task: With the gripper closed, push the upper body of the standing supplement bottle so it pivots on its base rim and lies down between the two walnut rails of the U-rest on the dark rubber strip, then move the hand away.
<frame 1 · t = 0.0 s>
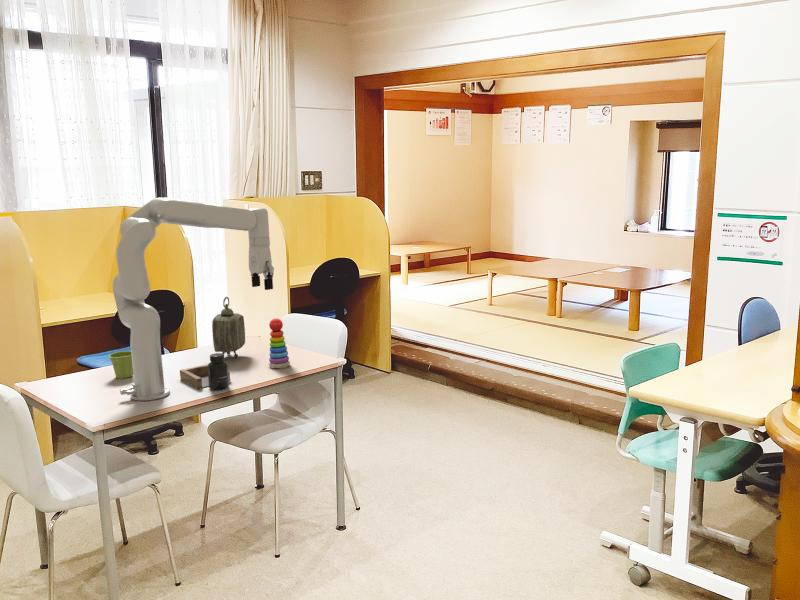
hand: (262, 287, 267), 31 cm above the table, tool pointing down, fingers open, 9 cm apart
supplement bottle: (219, 388, 251), on the table
u rest: (206, 381, 260), on the table
plant pot: (124, 376, 269), on the table
stacking toy: (279, 366, 276), on the table
tabletop clock: (231, 358, 290), on the table
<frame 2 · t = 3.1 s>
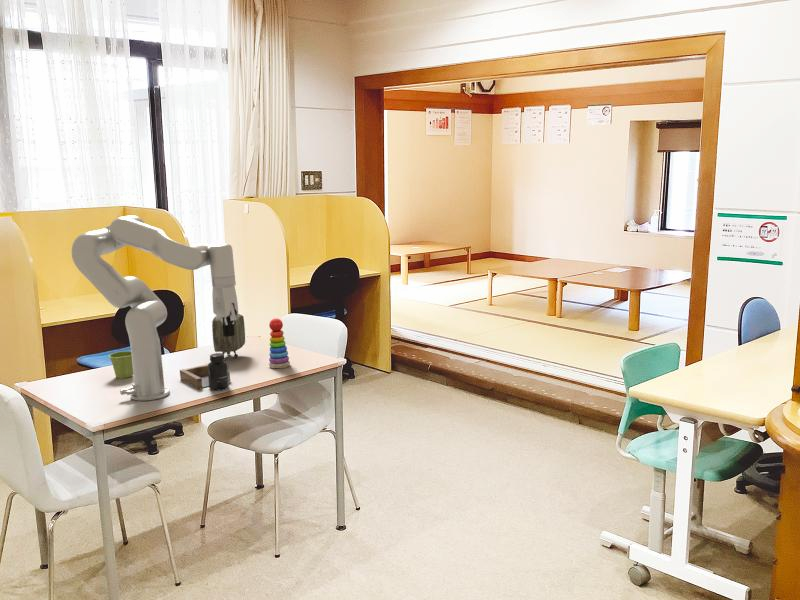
hand: (228, 335, 240), 20 cm above the table, tool pointing down, fingers closed
nothing on the table moved.
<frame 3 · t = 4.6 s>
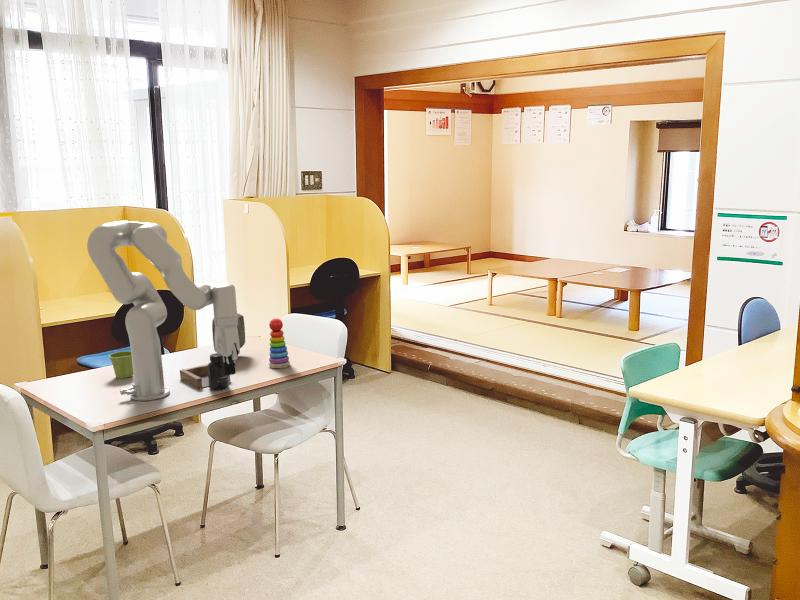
hand: (230, 374, 242), 7 cm above the table, tool pointing down, fingers closed
nothing on the table moved.
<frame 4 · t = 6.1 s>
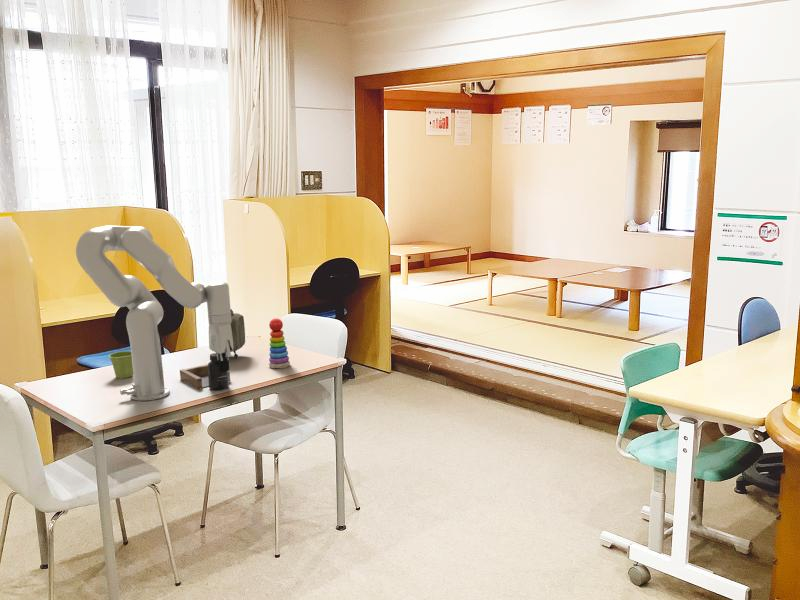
hand: (224, 371, 246), 7 cm above the table, tool pointing down, fingers closed
supplement bottle: (219, 388, 251), on the table, touching gripper
everything else where it was.
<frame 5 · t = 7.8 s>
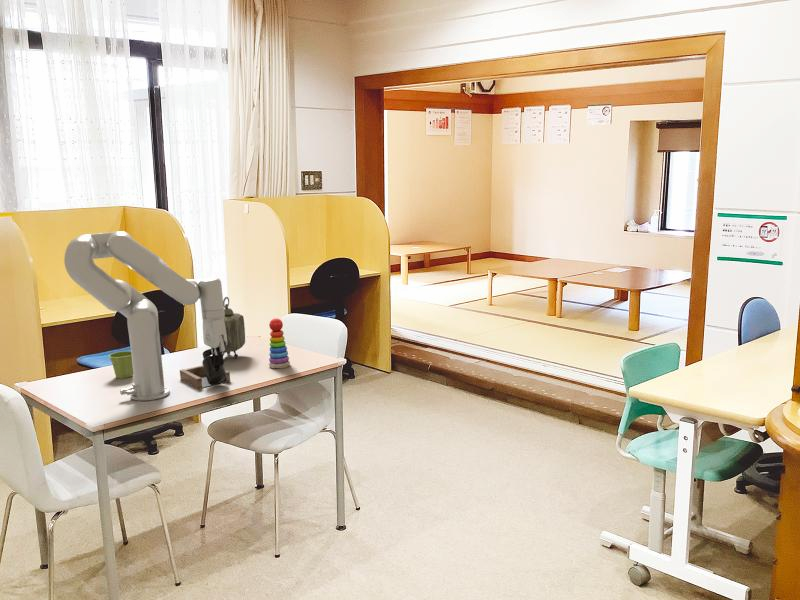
hand: (218, 365, 251), 8 cm above the table, tool pointing down, fingers closed
supplement bottle: (218, 381, 251), point 2 cm above the table, touching gripper
everything else where it was.
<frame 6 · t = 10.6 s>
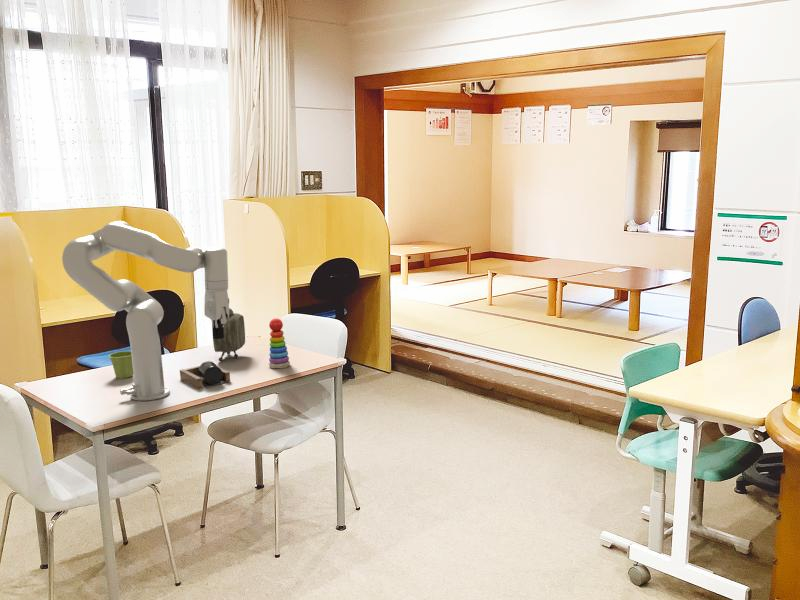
hand: (218, 338, 244), 19 cm above the table, tool pointing down, fingers closed
supplement bottle: (213, 376, 252), point 4 cm above the table, touching u rest
everything else where it was.
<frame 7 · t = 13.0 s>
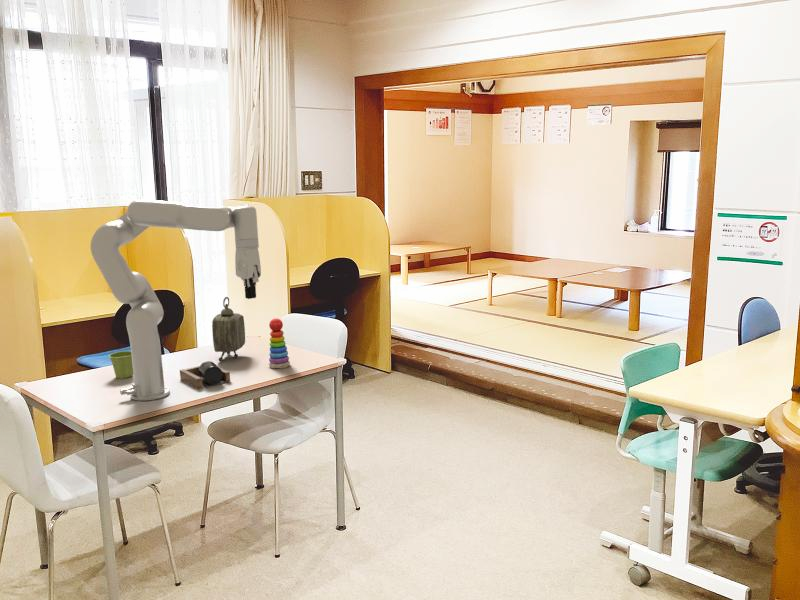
hand: (250, 297, 242), 32 cm above the table, tool pointing down, fingers closed
nothing on the table moved.
at the end: supplement bottle tilted 90°; supplement bottle inside the target area (3.0 cm from its centre), point 3.7 cm above the table; the gripper is holding nothing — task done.
